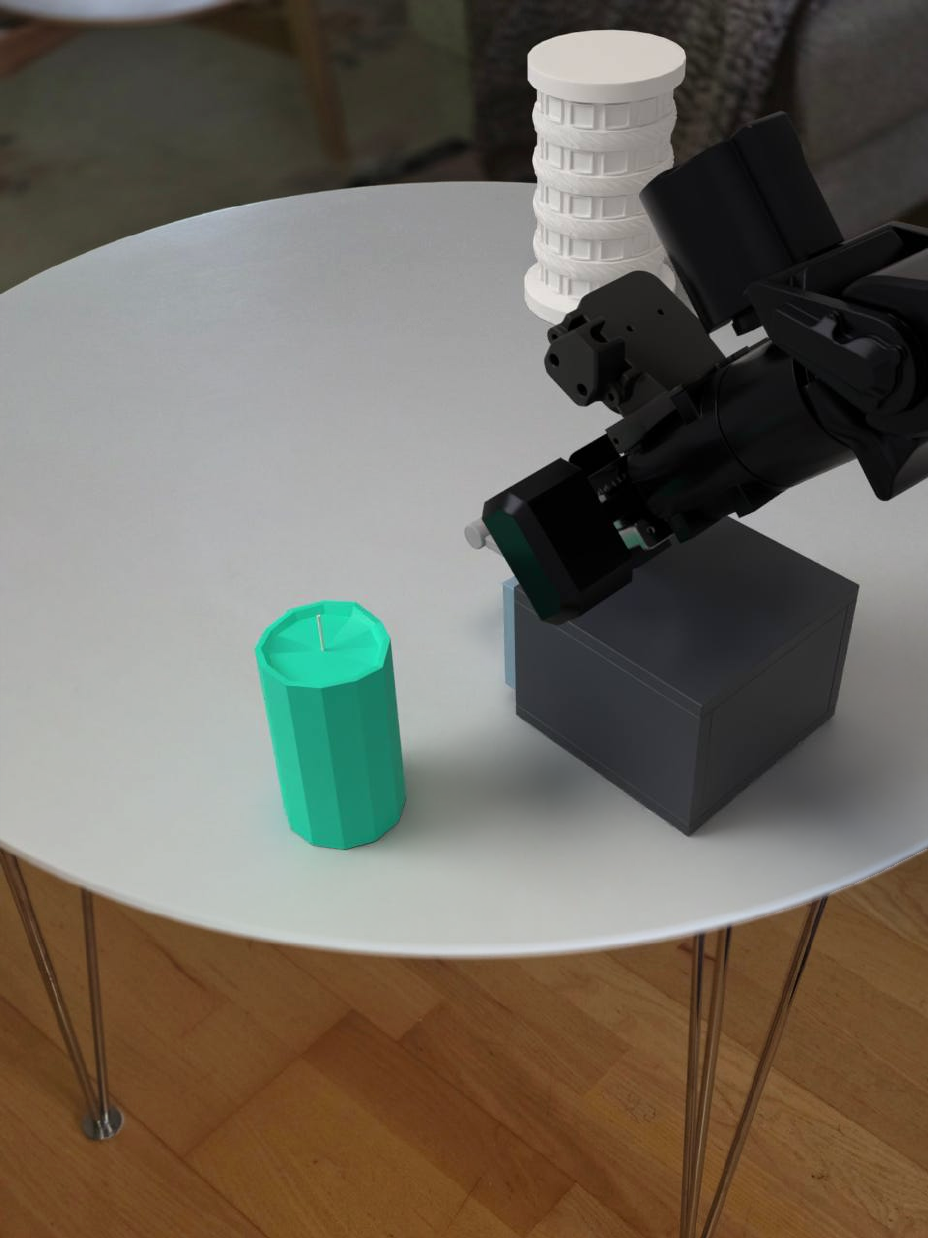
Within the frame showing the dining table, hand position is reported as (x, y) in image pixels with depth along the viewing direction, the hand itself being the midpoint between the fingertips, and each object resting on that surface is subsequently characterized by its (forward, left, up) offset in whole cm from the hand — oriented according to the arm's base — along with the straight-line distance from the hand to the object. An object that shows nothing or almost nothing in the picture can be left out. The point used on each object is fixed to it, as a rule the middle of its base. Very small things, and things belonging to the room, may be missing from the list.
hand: (572, 522), depth 69 cm
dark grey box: (-7, -3, -8) cm, 11 cm away
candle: (-6, +15, -9) cm, 18 cm away
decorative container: (+35, -20, -9) cm, 42 cm away
